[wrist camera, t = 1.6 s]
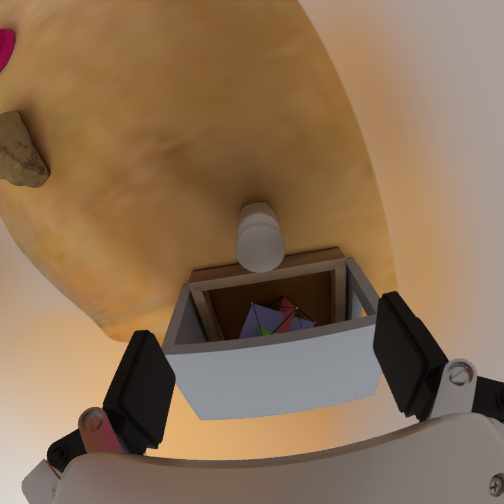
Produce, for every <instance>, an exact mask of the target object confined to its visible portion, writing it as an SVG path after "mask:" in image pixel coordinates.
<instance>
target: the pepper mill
mask: <svg viewBox="0 0 504 504" xmlns="http://www.w3.org/2000/svg"><path fill="white" fill-rule="evenodd" d="M14 41H15V35H14V33H13V31H11V30H7V29H0V71H1V70H2V69H3V67H4V66H5V65H6V63H7V61H8V59H9V57H10V55H11V53H12V50H13V47H14Z"/></svg>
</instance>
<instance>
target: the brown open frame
mask: <svg viewBox="0 0 504 504" xmlns="http://www.w3.org/2000/svg"><path fill="white" fill-rule="evenodd" d="M284 255H285V245H284V242H283V238H282V235H281V231H280V228H279V224H278V221H277V217H276V214H275V212H274V210H273V209H272V208H271V207H270V206H268V204H267V201H262V202H256V203H251V204H245V205H243V210H242V211H241V213H240V215H239V221H238V231H237V241H236V256H237V259H238V261H239V263H240V264H239V265H232V266H226V267H220V268H214V269H207V270H201V271H195V272H192V274H191V277H190V280H189V283H188V284H189V287H190V290H191V293H192V295H193V298H194V301H195V304H196V307H197V309H198V312H199V315H200V317H201V320H202V323H203V325H204V328H205V331H206V333H207V336H208V338H209V341H210V342H217V341H225V339H224V336H223V334H222V331H221V328H220V325H219V322H218V319H217V316H216V313H215V310H214V307H213V303H212V300H211V297H210V294H209V291H208V290H212V289H219V288H226V287H233V286H239V285H246V284H252V283H259V282H265V281H271V280H277V279H283V278H289V277H295V276H301V275H307V274H312V273H318V272H324V271H329V270H330V285H331V324H334V323H339V322H344V321H345V302H346V257H345V256H344V254H343V253H342V251H341V250H340V248H334V249H329V250H323V251H317V252H311V253H305V254H299V255H293V256H287V257H284Z"/></svg>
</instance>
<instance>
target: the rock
mask: <svg viewBox="0 0 504 504" xmlns="http://www.w3.org/2000/svg"><path fill="white" fill-rule="evenodd" d="M48 176H49V172H48V170H47V168H46V166H45V164H44V163H43V161H42V160H41V158H40V156H39V154H38V152H37V150H36V149H35V147H34V145H33V143H32V141H31V137H30V135H29V133H28V132H27V129H26V127H25V125H24V123H23V122H22V120H21V116H20V114H19V113H18V112H17V111H9V112H6V113H3V114H0V179H5V180H8V181H9V182H10V183H11V184H13V185H17V186H28V187H32V188H35V187H37V188H39V187H40V186H41V185H42V184H43V182H44V181H45V180H46V179H47V178H48Z"/></svg>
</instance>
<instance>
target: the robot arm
mask: <svg viewBox="0 0 504 504" xmlns="http://www.w3.org/2000/svg"><path fill="white" fill-rule="evenodd" d="M373 351H374V354H375V356H376V358H377V360H378V362H379V365H380V367H381V369H382V371H383V373H384V375H385V378H386V380H387V383H388V385H389V387H390V389H391V392H392V394H393V396H394V399H395V401H396V403H397V405H398V408H399V411H400V412H401V413H402V412H404V414H405V416H406V418H407V417H410V416H412V415H415V416H416V418H417V419H418V422H417V424H414V425H411V426H408V427H406V428H403V429H400V430H397V431H394V432H391V433H388V434H385V435H381V436H378V437H375V438H371V439H368V440H365V441H361V442H357V443H353V444H349V445H345V446H341V447H336V448H332V449H327V450H322V451H317V452H311V453H305V454H299V455H291V456H285V457H274V458H265V459H250V460H186V459H170V458H161V457H151V456H147V454H146V453H145V452H146V448H152V449H158V445H159V443H161V442H162V440H163V435H164V430H165V426H166V421H167V416H168V412H169V408H170V403H171V398H172V394H173V390H174V386H175V382H176V376H175V373H174V371H173V369H172V367H171V366H170V364H169V362H168V360H167V358H166V357H165V355H164V353H163V351H162V349H161V347H160V345H159V343H158V341H157V339H156V337H155V335H154V334H153V333H150V331H149V330H139V331H135V332H134V334H133V336H132V338H131V340H130V342H129V344H128V346H127V349H126V351H125V353H124V355H123V357H122V360H121V362H120V364H119V366H118V369H117V371H116V373H115V375H114V378H113V380H112V382H111V385H110V387H109V389H108V392H107V394H106V397H105V399H104V402H103V408H102V409H101V408H99V407H91V408H89V409H87V410H85V411H84V412H83V413H82V414H81V416H80V418H79V421H78V429H77V430H75V431H73V432H72V433H70V434H68V435H66V436H65V437H63V438H61V439H59V440H58V441H56V442H54V443H53V444H51V446H50V447H49V449H48V451H47V460H45V459H43V460H42V461H41V462H40V463H39V464H38V465H37V466H36V467H35V468H34V469H33V470H32V471H31V472H30V473H29V474H28V475H27V476H26V477H25V478H24V480H23V481H22V491H23V494H24V495H25V497H26V499H27V500H28V502H29V503H30V504H504V383H503V382H499V381H495V380H491V379H487V378H484V377H479V376H477V371H476V369H475V367H474V365H473V364H472V363H471V362H469V361H467V360H465V359H453V360H451V361H449V360H448V359H447V357H446V356H445V354H444V353H443V351H442V350H441V348H440V347H439V345H438V344H437V342H436V341H435V339H434V338H433V336H432V335H431V334H430V332H429V331H428V329H427V328H426V326H425V325H424V324H423V322H422V321H421V320H420V319H419V318H418V317H415V315H414V314H413V312H412V311H411V310H410V308H409V307H408V306H407V304H406V303H405V302H404V300H403V299H402V298H401V296H400V295H399V294H398V292H396V291H393V292H389V293H385V294H383V295H382V298H379V300H378V308H377V317H376V325H375V333H374V340H373Z"/></svg>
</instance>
